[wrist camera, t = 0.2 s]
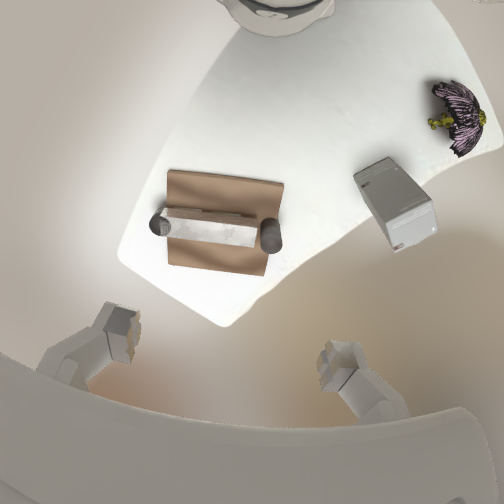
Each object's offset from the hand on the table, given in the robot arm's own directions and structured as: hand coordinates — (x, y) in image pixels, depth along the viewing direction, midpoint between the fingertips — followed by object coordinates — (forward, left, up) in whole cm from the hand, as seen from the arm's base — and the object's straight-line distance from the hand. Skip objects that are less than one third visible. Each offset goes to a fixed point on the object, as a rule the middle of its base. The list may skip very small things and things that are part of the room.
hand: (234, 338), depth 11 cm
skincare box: (+4, +24, -39) cm, 46 cm away
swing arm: (+16, -6, -35) cm, 39 cm away
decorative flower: (-14, +34, -39) cm, 53 cm away
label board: (+18, -3, -38) cm, 43 cm away
